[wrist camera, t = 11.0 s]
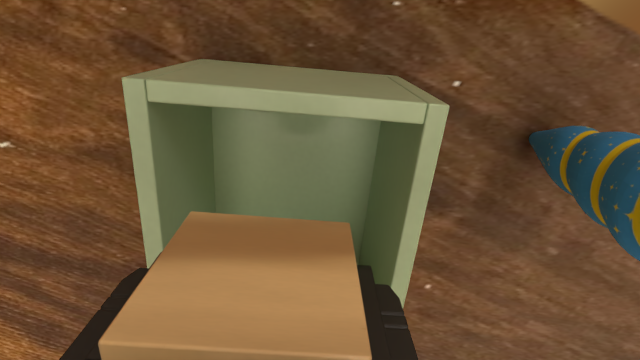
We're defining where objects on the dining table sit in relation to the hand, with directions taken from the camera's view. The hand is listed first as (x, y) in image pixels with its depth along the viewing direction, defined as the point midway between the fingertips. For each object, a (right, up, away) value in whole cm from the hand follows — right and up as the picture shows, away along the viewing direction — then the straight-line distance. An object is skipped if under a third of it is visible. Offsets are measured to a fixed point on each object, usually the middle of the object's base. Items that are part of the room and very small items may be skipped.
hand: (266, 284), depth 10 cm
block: (0, 0, 0) cm, 0 cm away
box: (0, +3, +13) cm, 13 cm away
